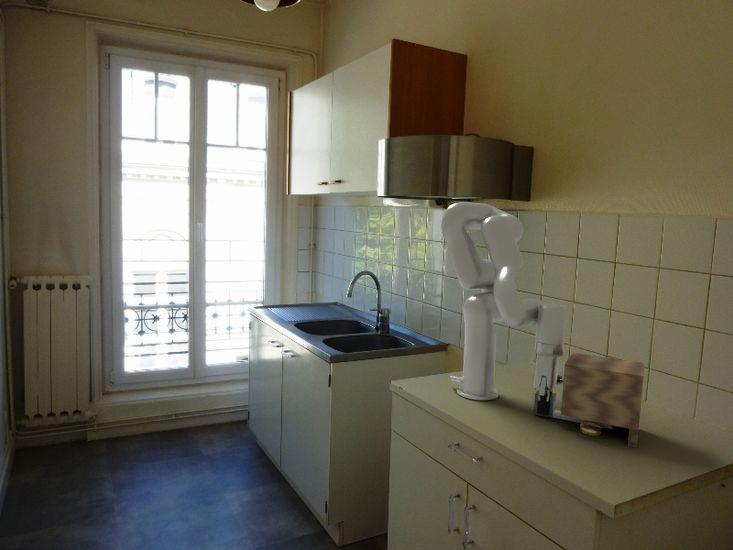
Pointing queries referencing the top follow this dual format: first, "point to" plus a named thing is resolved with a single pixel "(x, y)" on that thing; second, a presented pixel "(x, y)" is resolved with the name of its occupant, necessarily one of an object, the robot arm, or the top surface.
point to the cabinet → (604, 391)
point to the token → (590, 428)
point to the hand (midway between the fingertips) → (544, 411)
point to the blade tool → (557, 413)
